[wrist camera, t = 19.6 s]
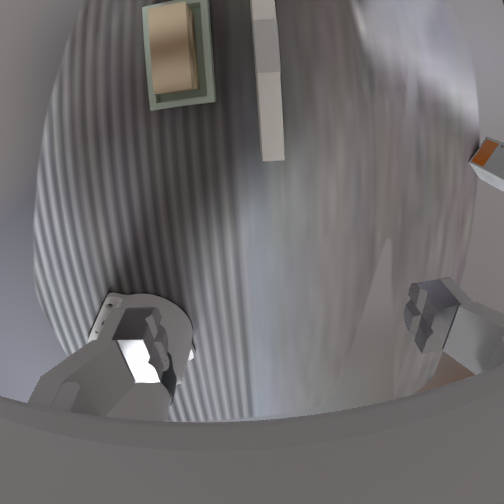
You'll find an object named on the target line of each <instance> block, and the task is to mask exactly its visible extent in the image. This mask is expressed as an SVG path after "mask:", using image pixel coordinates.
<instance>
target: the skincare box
mask: <svg viewBox="0 0 504 504" xmlns="http://www.w3.org/2000/svg"><path fill="white" fill-rule="evenodd" d="M469 164H470V165H471V166H472V168H473V169H474V171H475V172H476V174H477V175H478V177H479V178H480V179H482V180H483V181H485V182H487V183H489V184H491V185H492V186H494V187H496V188H498V189H499V190H501V191H503V192H504V143H502V142H499V141H497V140H493V139H491V138H488V137H486V138H485V140H484V142H483V143H482V144H481V146H480V147H479V149H478V150H477V152H476V153H475V154H474V156H473V157H472V158H471V159H470V161H469Z"/></svg>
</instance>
